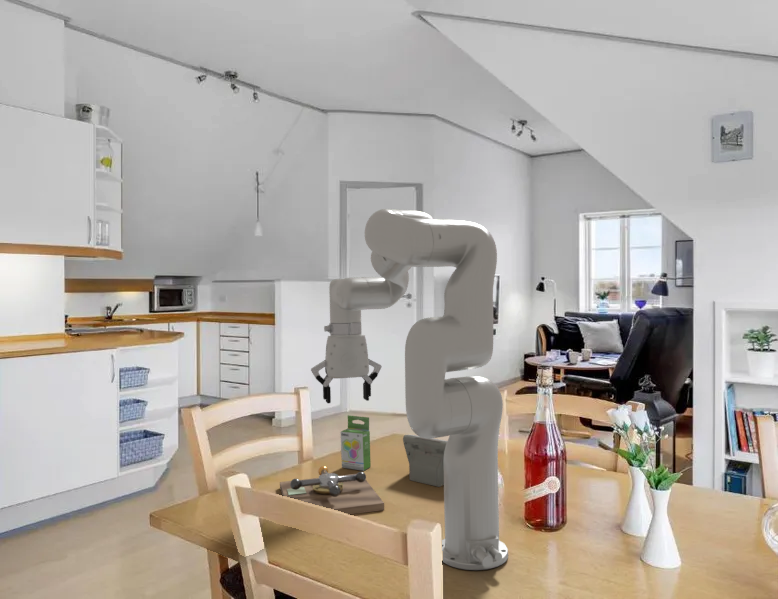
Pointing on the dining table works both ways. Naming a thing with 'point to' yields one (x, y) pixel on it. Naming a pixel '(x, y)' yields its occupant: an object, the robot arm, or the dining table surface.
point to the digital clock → (425, 459)
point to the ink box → (356, 444)
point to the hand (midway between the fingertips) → (347, 400)
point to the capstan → (327, 482)
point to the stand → (339, 497)
